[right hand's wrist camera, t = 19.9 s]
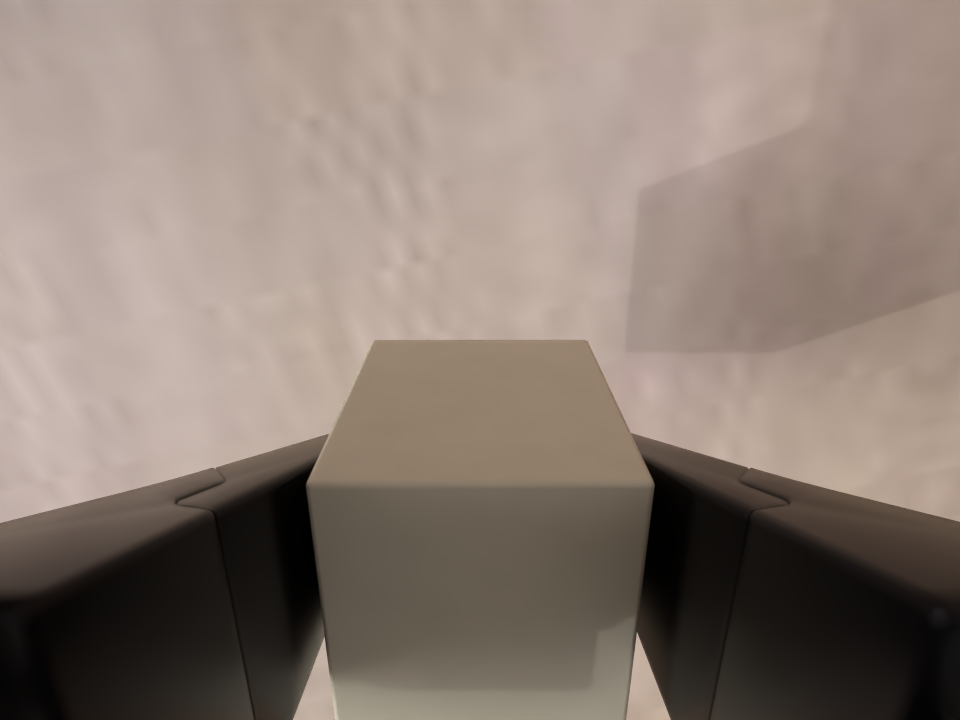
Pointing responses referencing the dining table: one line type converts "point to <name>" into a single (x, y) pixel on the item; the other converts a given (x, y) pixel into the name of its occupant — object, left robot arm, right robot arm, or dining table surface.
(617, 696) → the block
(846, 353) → the dining table surface
